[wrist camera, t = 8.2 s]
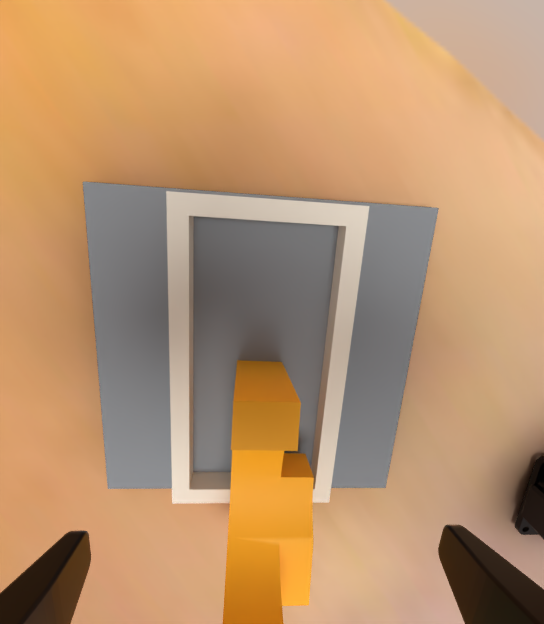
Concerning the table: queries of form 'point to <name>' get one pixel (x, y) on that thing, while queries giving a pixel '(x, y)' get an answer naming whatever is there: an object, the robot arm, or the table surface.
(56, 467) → the table surface
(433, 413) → the table surface
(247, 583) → the pipe clamp
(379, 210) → the jig board
